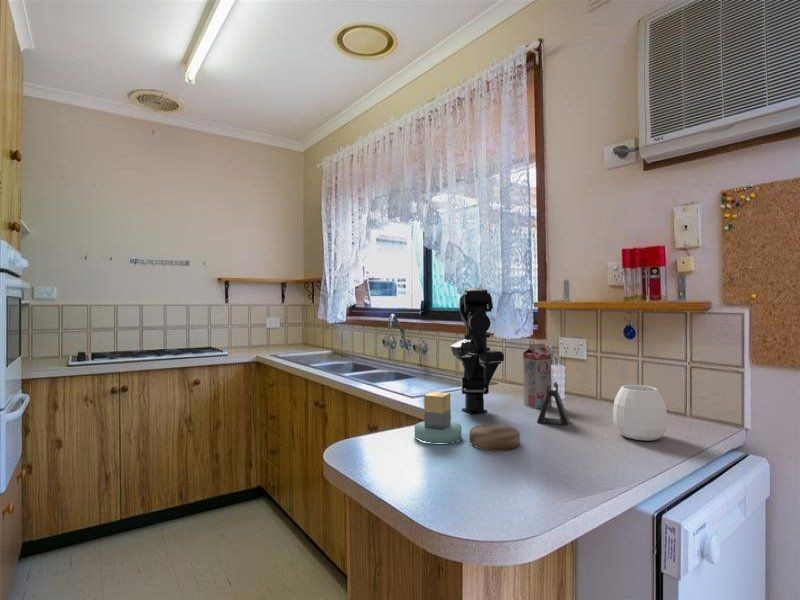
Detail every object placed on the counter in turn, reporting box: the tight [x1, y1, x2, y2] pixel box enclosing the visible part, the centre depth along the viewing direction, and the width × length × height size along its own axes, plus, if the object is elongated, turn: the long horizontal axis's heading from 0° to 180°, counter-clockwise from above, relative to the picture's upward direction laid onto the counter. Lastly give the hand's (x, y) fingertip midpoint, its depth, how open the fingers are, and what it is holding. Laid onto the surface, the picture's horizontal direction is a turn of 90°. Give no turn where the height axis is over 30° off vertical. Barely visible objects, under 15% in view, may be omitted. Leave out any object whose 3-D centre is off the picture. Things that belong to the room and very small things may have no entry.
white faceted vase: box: [612, 384, 668, 441], centre depth 123 cm, size 13×13×14 cm
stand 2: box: [469, 424, 521, 452], centre depth 120 cm, size 13×13×3 cm
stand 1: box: [414, 420, 463, 444], centre depth 125 cm, size 13×13×3 cm
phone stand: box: [536, 380, 570, 427], centre depth 139 cm, size 9×6×12 cm, turn 68°
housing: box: [423, 391, 452, 430], centre depth 125 cm, size 6×6×9 cm
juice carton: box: [522, 342, 553, 410], centre depth 159 cm, size 7×7×22 cm
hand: (477, 382), depth 137 cm, fingers open, 9 cm apart
